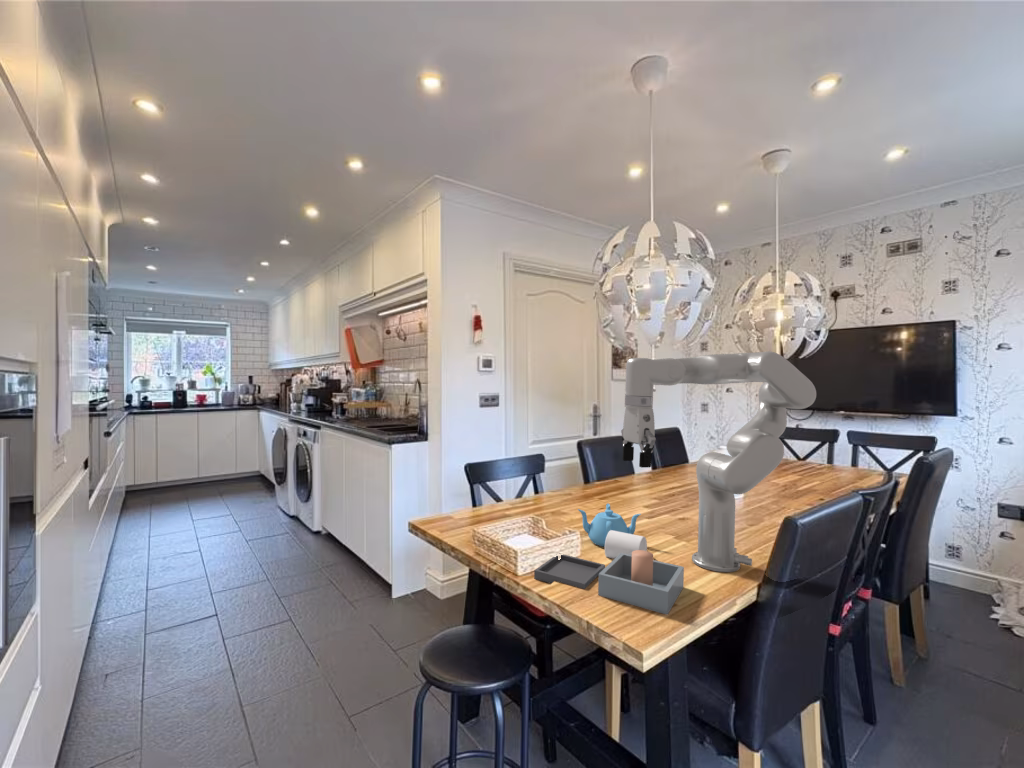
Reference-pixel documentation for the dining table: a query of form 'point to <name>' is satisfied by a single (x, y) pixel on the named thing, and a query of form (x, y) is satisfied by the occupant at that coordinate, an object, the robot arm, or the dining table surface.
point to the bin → (641, 584)
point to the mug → (623, 543)
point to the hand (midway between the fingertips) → (636, 463)
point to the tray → (569, 571)
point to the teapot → (606, 525)
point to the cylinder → (642, 567)
